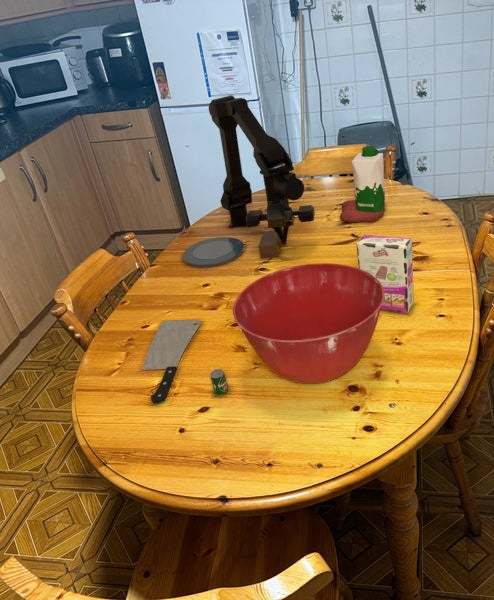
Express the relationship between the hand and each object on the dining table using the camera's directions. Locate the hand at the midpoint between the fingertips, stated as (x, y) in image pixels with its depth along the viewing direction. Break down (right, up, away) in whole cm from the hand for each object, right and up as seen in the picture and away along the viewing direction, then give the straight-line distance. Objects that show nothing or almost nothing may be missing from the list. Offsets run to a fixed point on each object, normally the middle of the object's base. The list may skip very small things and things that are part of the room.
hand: (284, 243), depth 157 cm
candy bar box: (+25, -17, -31) cm, 43 cm away
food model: (+24, +13, +16) cm, 32 cm away
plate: (-21, -2, +4) cm, 21 cm away
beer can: (-11, -34, -51) cm, 62 cm away
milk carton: (+26, +11, +16) cm, 33 cm away
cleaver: (-24, -29, -39) cm, 54 cm away
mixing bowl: (+8, -29, -46) cm, 55 cm away
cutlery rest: (-4, -2, +1) cm, 4 cm away
